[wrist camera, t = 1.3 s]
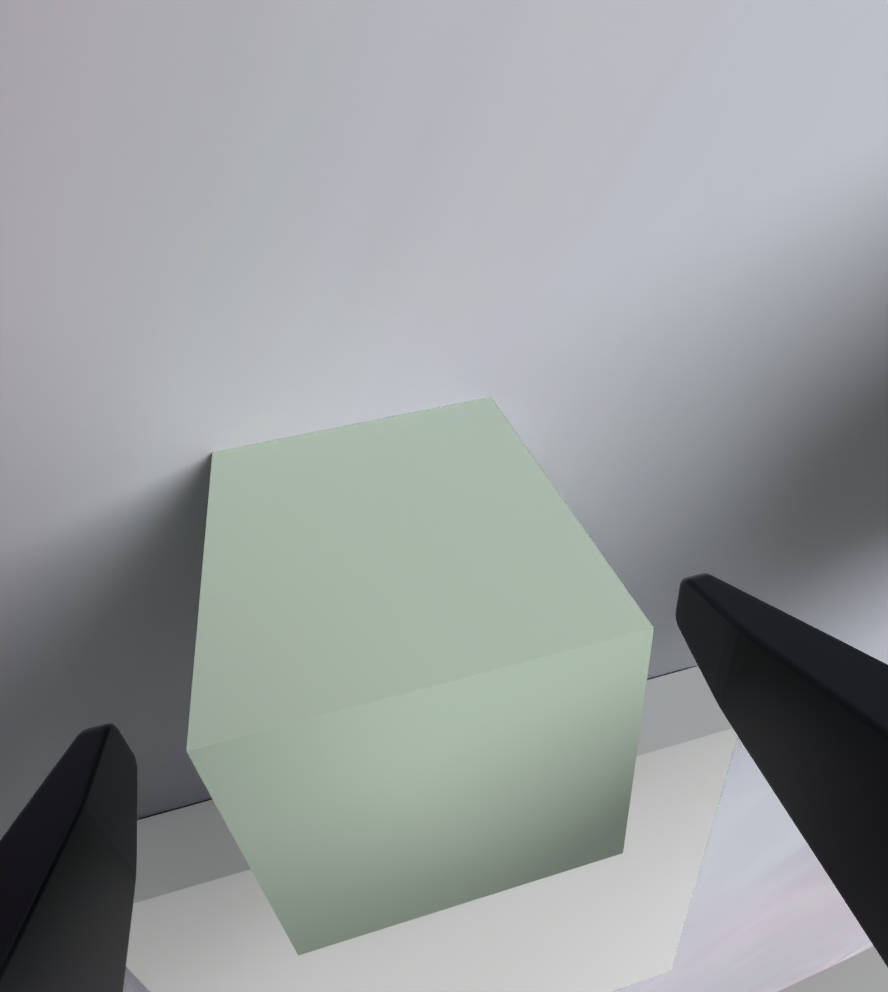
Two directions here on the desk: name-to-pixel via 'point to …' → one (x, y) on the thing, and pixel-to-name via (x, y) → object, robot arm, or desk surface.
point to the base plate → (466, 927)
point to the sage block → (409, 671)
